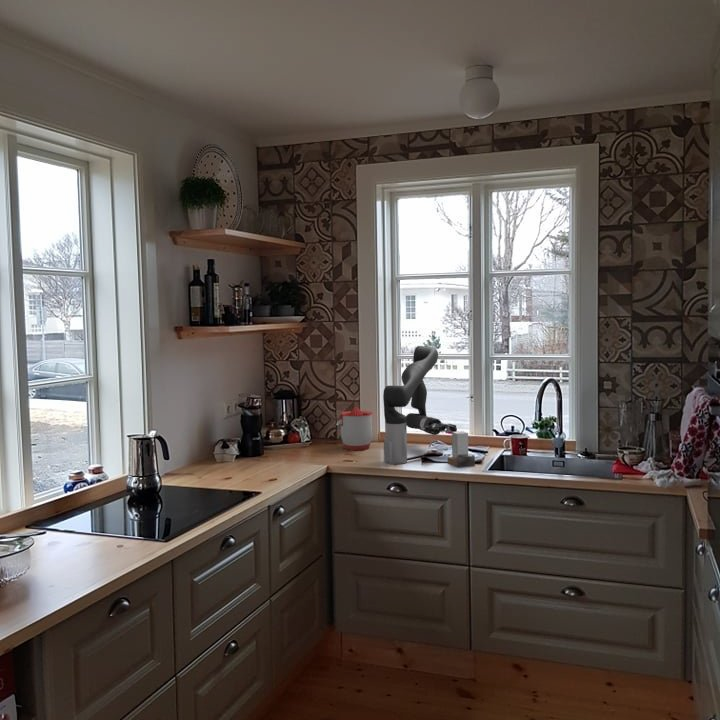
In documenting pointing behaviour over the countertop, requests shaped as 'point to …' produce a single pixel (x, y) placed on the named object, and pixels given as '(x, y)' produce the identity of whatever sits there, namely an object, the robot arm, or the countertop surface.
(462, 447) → the aluminium block
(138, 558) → the countertop surface
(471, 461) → the walnut cradle
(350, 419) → the citrus juicer
